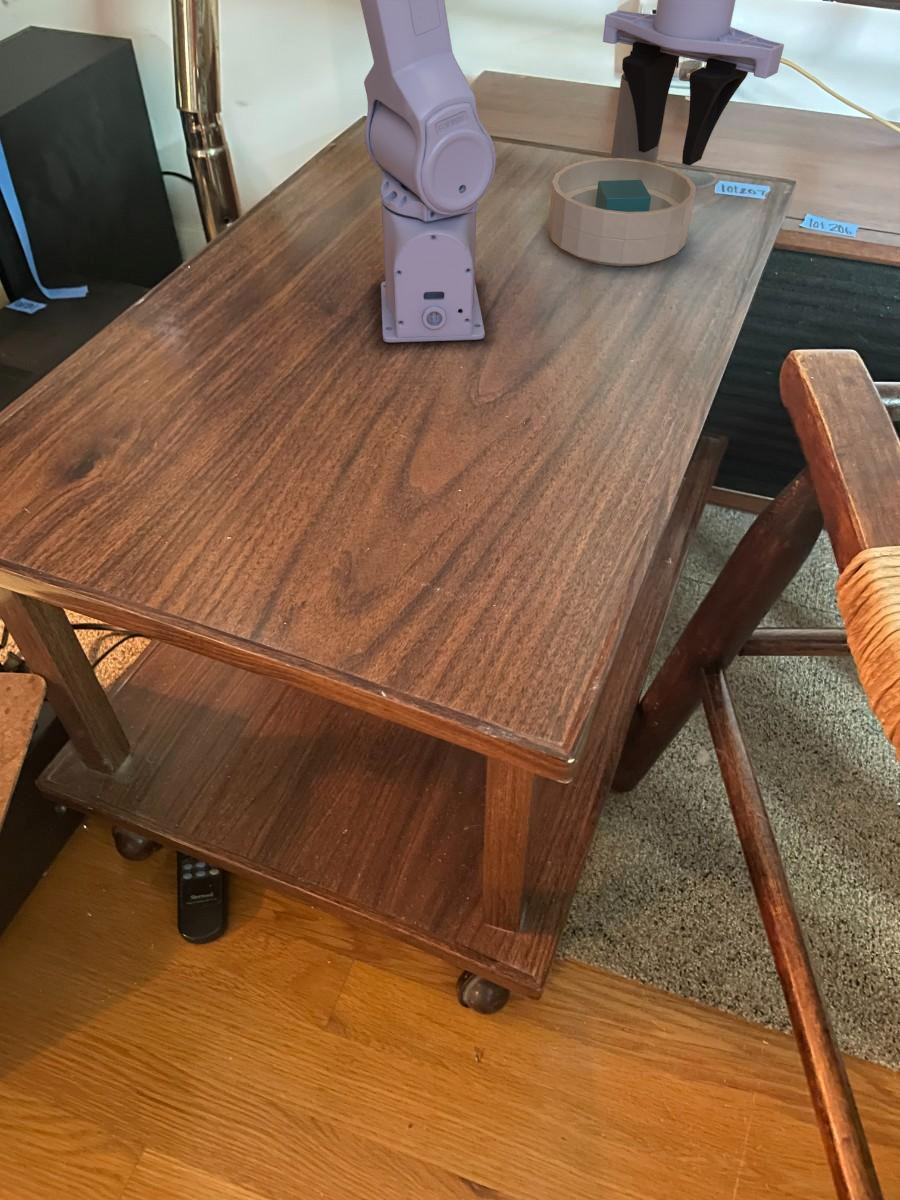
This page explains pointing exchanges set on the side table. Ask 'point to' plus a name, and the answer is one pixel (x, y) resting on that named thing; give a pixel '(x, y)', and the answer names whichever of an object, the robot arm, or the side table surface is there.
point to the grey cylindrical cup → (628, 129)
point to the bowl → (620, 213)
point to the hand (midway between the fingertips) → (669, 155)
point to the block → (623, 196)
